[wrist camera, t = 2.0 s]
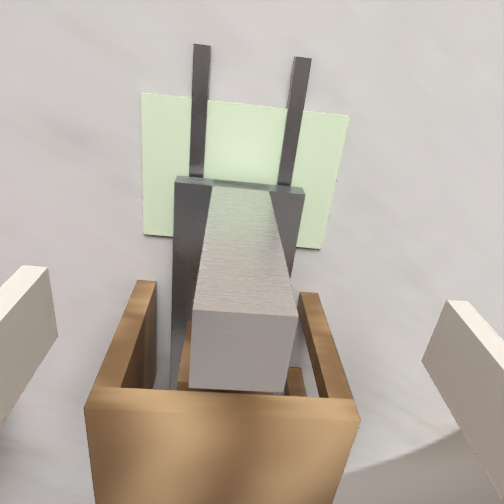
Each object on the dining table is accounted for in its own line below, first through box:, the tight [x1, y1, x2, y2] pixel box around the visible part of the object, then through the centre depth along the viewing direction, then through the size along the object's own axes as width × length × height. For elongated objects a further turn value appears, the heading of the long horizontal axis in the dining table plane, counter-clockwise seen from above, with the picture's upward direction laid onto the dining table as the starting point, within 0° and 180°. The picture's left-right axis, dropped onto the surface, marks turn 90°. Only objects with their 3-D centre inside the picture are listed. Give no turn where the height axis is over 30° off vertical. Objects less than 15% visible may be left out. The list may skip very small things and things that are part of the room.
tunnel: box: [84, 280, 361, 504], centre depth 23 cm, size 12×8×10 cm, turn 84°
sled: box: [170, 175, 306, 393], centre depth 21 cm, size 7×18×12 cm, turn 174°
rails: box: [189, 44, 312, 186], centre depth 27 cm, size 6×32×1 cm, turn 174°
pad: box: [141, 92, 350, 249], centre depth 22 cm, size 11×8×1 cm
